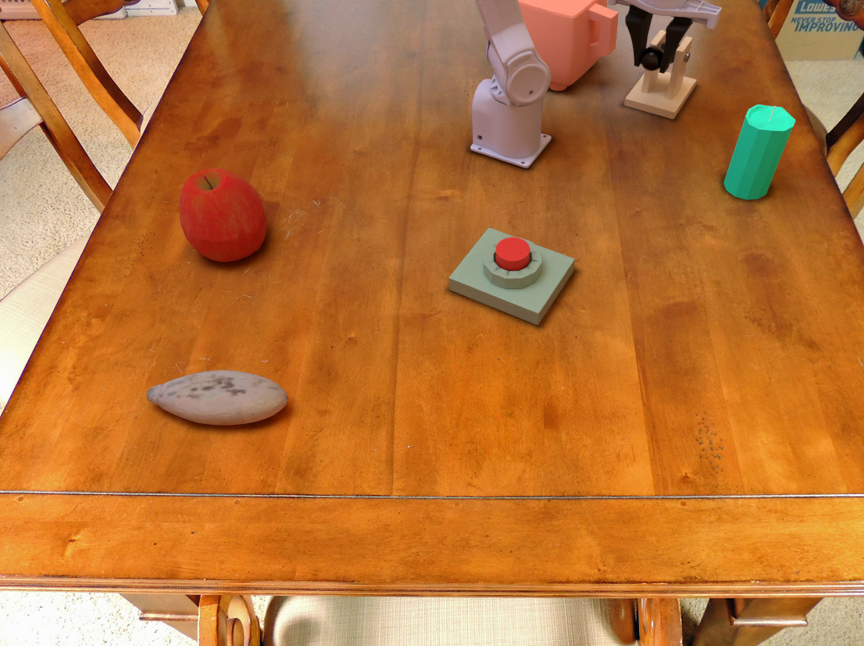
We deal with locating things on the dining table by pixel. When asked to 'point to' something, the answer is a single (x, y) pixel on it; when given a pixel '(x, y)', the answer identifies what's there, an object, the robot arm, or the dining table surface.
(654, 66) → the lever
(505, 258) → the button
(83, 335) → the dining table surface
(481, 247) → the button block
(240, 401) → the decorative stone
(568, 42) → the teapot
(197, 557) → the dining table surface
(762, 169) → the candle
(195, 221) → the apple
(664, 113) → the bracket
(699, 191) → the dining table surface
